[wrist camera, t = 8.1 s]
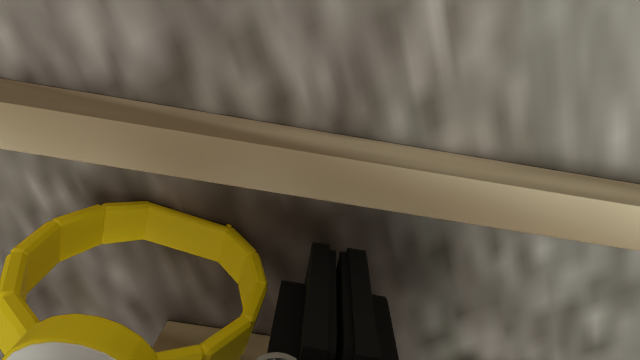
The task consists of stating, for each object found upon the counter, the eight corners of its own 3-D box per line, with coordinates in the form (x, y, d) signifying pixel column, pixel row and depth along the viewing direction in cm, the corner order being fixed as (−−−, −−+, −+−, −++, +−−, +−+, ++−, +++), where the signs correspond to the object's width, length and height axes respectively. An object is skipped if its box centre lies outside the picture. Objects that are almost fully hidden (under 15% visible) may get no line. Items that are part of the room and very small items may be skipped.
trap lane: (531, 490, 17) (555, 546, 15) (-199, 389, 16) (-269, 437, 14) (729, 199, 11) (809, 234, 9) (-428, 7, 10) (-601, 3, 8)
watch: (281, 216, 12) (261, 381, 7) (260, 280, 13) (226, 467, 8) (92, 165, 11) (-114, 308, 6) (85, 238, 12) (-93, 417, 7)
